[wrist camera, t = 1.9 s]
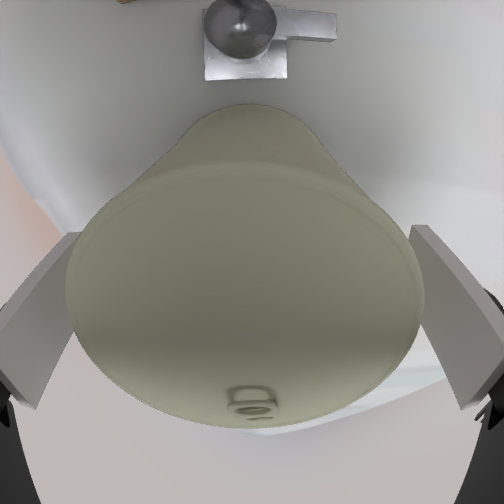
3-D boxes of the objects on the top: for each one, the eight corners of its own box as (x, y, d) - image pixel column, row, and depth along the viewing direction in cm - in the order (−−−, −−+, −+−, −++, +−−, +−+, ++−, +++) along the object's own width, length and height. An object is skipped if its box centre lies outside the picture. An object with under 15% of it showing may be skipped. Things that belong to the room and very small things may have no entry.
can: (192, 263, 20) (147, 439, 9) (151, 124, 15) (-9, 229, 5) (334, 244, 19) (395, 419, 9) (322, 94, 14) (469, 143, 4)
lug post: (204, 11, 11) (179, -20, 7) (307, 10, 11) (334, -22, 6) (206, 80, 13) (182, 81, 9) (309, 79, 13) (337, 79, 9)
